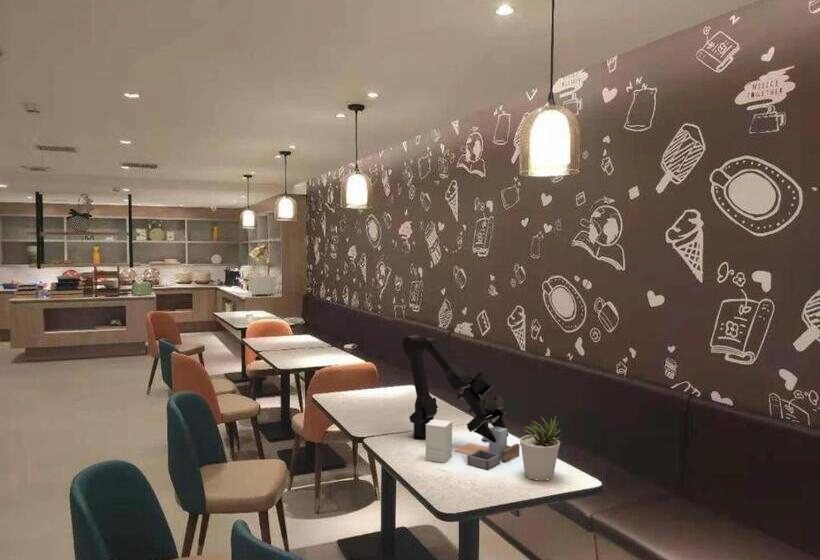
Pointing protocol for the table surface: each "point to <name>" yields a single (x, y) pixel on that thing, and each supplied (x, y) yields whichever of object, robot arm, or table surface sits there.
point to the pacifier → (486, 438)
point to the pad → (471, 448)
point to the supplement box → (439, 440)
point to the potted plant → (540, 452)
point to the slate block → (498, 441)
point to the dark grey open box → (483, 459)
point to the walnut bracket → (510, 452)
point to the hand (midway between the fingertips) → (501, 439)
